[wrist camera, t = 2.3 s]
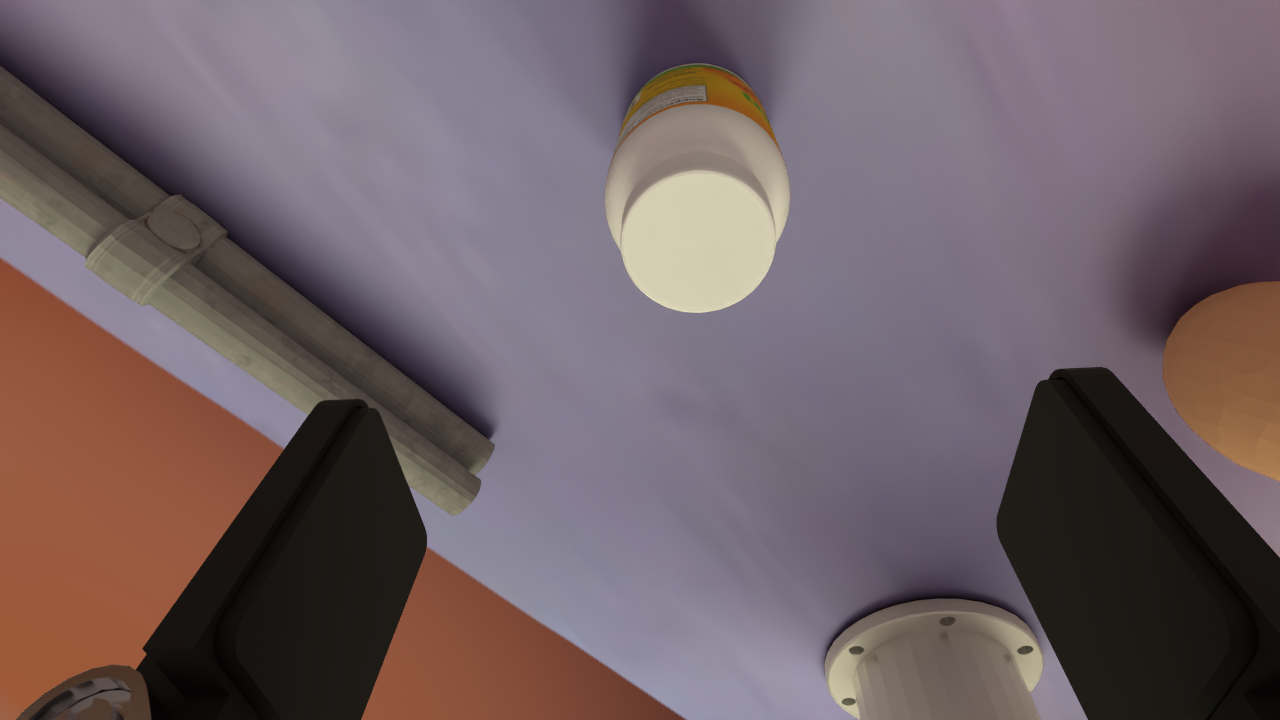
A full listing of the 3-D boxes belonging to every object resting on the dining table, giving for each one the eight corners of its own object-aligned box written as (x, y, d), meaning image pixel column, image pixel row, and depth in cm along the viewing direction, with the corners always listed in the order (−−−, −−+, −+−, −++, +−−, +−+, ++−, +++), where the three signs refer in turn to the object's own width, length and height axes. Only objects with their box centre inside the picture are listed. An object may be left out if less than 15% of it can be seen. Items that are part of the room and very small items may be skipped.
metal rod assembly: (504, 430, 34) (479, 503, 30) (469, 456, 35) (440, 531, 31) (-38, 2, 24) (-189, 23, 20) (-62, 58, 25) (-209, 89, 21)
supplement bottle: (784, 178, 26) (829, 301, 18) (653, 226, 27) (640, 360, 19) (741, 34, 23) (771, 102, 15) (598, 95, 25) (556, 188, 16)
